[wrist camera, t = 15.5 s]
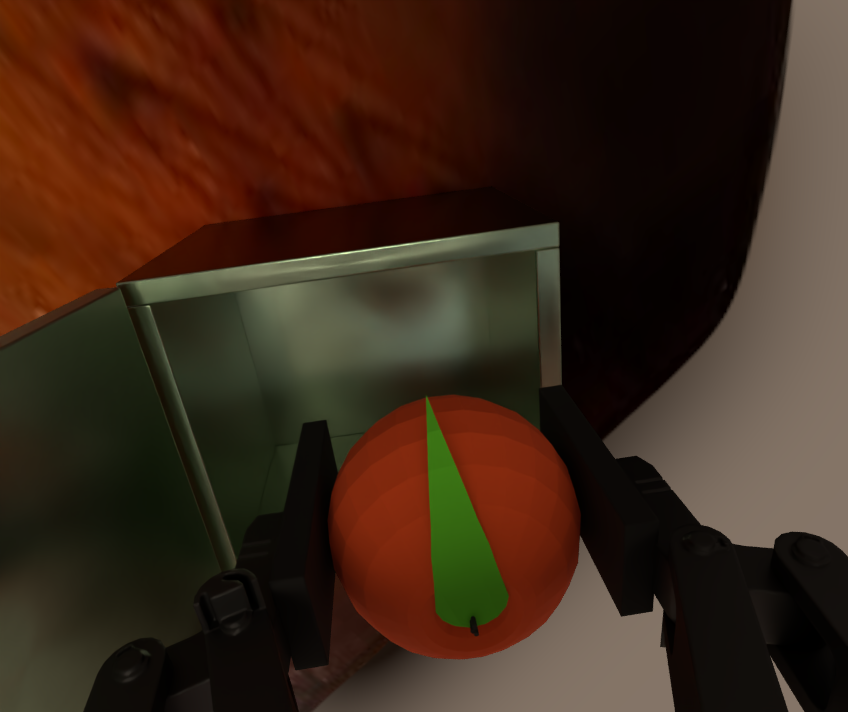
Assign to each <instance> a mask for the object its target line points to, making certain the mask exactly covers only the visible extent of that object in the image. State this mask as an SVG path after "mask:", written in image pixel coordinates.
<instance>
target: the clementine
mask: <svg viewBox="0 0 848 712" xmlns="http://www.w3.org/2000/svg"><path fill="white" fill-rule="evenodd" d="M327 522H328V533H329V543H330V549H331V555H332V560H333V566H334V570H335V572H336V574H337V576H338V578H339V579H340V581H341V583H342V585H343V587H344V589H345V591H346V593H347V595H348V596H349V598H350V600H351V602H352V604H353V605H354V607H355V609H356V611H357V612H358V613H359V614H360V615H361V616H362V617H363V618H364V619H365V620H366V621H367V622H368V623H370V624H371V625H372V626H373V627H374V628H375V629H376V630H377V631H379V632H380V633H381V634H382V635H384V636H385V637H386V638H388V639H389V640H390V641H391V642H393V643H395V644H397V645H399V646H401V647H403V648H405V649H406V650H408V651H410V652H413V653H417V654H421V655H424V656H429V657H432V658H444V659H469V658H476V657H483V656H487V655H489V654H493V653H496V652H499V651H502V650H504V649H507V648H508V647H510V646H512V645H514V644H516V643H518V642H520V641H521V640H523V639H525V638H527V637H529V636H530V635H531V634H532V633H533V632H534V631H536V630H537V629H538V628H539V627H540V626H542V625H543V624H544V623H545V622H546V621H547V620H548V618H549V617H550V615H551V614H552V613H553V612H554V610H555V609H556V608H557V606H558V605H559V603H560V602H561V600H562V598H563V596H564V594H565V592H566V590H567V589H568V587H569V585H570V582H571V579H572V577H573V574H574V571H575V569H576V566H577V564H578V555H579V540H580V524H581V512H580V508H579V505H578V501H577V497H576V494H575V490H574V487H573V484H572V481H571V478H570V475H569V472H568V469H567V466H566V465H565V463H564V462H563V460H562V459H561V457H560V456H559V455H558V453H557V452H556V450H555V449H554V447H553V446H552V444H551V443H550V442H549V441H548V440H547V439H546V437H545V436H544V435H543V434H542V433H541V432H540V431H539V429H537V428H536V427H535V426H533V425H532V424H531V423H530V422H528V421H527V420H526V419H524V418H523V417H522V416H521V415H519V414H518V413H517V412H514V411H512V410H509V409H507V408H504V407H502V406H499V405H497V404H494V403H492V402H490V401H487V400H484V399H481V398H475V397H468V396H460V395H444V396H434V397H427V395H426V398H423V399H420V400H417V401H414V402H411V403H408V404H406V405H403V406H400V407H399V408H397V409H395V410H394V411H392V412H391V413H389V414H388V415H386V416H385V417H383V418H381V419H380V420H378V421H377V422H376V423H375V424H374V425H373V426H372V427H371V428H370V429H369V430H368V431H367V432H366V433H365V434H364V435H363V436H362V437H361V438H360V439H359V440H358V442H357V443H356V444H355V445H354V446H353V447H352V448H351V449H350V451H349V453H348V455H347V457H346V459H345V461H344V463H343V465H342V467H341V469H340V471H339V473H338V475H337V478H336V481H335V484H334V487H333V490H332V494H331V500H330V506H329V513H328V519H327Z"/></svg>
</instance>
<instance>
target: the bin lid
mask: <svg viewBox="0 0 848 712" xmlns="http://www.w3.org/2000/svg"><path fill="white" fill-rule="evenodd" d="M220 572H221V569H220V566H219V563H218V561H217V558H216V555H215V552H214V549H213V547H212V544H211V541H210V538H209V536H208V533H207V530H206V527H205V524H204V522H203V519H202V516H201V513H200V510H199V508H198V505H197V502H196V499H195V496H194V494H193V491H192V488H191V485H190V482H189V480H188V477H187V474H186V471H185V469H184V466H183V463H182V460H181V457H180V455H179V452H178V449H177V446H176V443H175V441H174V438H173V435H172V432H171V429H170V427H169V424H168V421H167V418H166V416H165V413H164V410H163V407H162V404H161V402H160V399H159V396H158V393H157V390H156V388H155V385H154V382H153V379H152V376H151V374H150V371H149V368H148V365H147V362H146V360H145V357H144V354H143V351H142V349H141V346H140V343H139V340H138V337H137V335H136V332H135V329H134V326H133V323H132V321H131V318H130V315H129V312H128V309H127V307H126V304H125V301H124V298H123V295H122V293H121V290H120V288H117V287H115V288H105V289H96V290H94V291H92V292H90V293H88V294H86V295H84V296H82V297H80V298H78V299H76V300H74V301H71V302H69V303H67V304H65V305H63V306H61V307H59V308H57V309H55V310H53V311H51V312H49V313H47V314H45V315H43V316H41V317H39V318H37V319H35V320H33V321H31V322H29V323H27V324H25V325H23V326H21V327H19V328H16V329H14V330H12V331H10V332H8V333H6V334H4V335H2V336H0V712H83V711H84V708H85V705H86V703H87V700H88V697H89V695H90V692H91V689H92V687H93V684H94V681H95V679H96V676H97V674H98V672H99V670H100V668H101V667H102V665H103V663H104V662H105V661H106V660H107V659H108V658H109V657H110V656H111V655H112V654H113V653H114V652H115V651H116V650H118V649H119V648H121V647H122V646H124V645H125V644H127V643H129V642H132V641H134V640H137V639H139V638H148V637H153V638H155V639H158V640H161V642H162V643H163V645H164V646H165V648H166V647H168V646H171V645H173V644H175V643H178V642H180V641H182V640H184V639H187V638H189V637H191V636H193V635H195V634H197V633H199V632H200V631H202V630H203V629H202V627H201V624H200V622H199V619H198V617H197V614H196V612H195V609H194V607H193V603H194V597H195V595H196V593H197V592H198V590H199V589H200V587H201V586H202V585H203V584H204V583H205V582H206V581H208V580H209V579H210V578H211V577H213V576H215V575H217V574H219V573H220Z"/></svg>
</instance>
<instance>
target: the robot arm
mask: <svg viewBox="0 0 848 712" xmlns="http://www.w3.org/2000/svg"><path fill="white" fill-rule="evenodd" d="M539 410H540V432H541V433H542V434H543V435H544V436H545V437H546V439H547V440H548V441H549V442H550V443H551V444H552V446H553V447H554V449H555V450H556V452H557V453H558V455H559V456H560V457H561V459H562V460H563V462H564V463H565V465H566V466H567V469H568V472H569V475H570V478H571V481H572V484H573V487H574V490H575V494H576V497H577V501H578V505H579V508H580V512H581V524H580V536H581V538H582V540H583V542H584V544H585V546H586V548H587V549H588V551H589V553H590V556H591V558H592V559H593V562H594V563H595V565H596V567H597V569H598V571H599V573H600V575H601V577H602V579H603V581H604V583H605V585H606V587H607V589H608V591H609V593H610V595H611V597H612V599H613V601H614V603H615V605H616V607H617V609H618V611H619V613H620V615H621V616H627V615H634V614H640V613H646V612H652V611H653V599H654V594H655V596H656V598H657V599H658V601H659V603H660V604H661V606H662V608H663V609H664V610H663V622H662V633H661V645H660V647H666V652H667V659H668V666H669V673H670V679H671V687H672V694H673V700H674V707H675V712H788V709H787V706H786V703H785V700H784V697H783V694H782V691H781V688H780V685H779V682H778V678H777V676H776V673H775V669H774V666H773V663H772V660H771V658H772V659H773V661H774V662H775V664H776V666H777V668H778V669H779V671H780V672H781V674H782V676H783V677H784V679H785V681H786V682H787V684H788V685H789V687H790V689H791V691H792V692H793V694H794V695H795V697H796V699H797V700H798V702H799V704H800V705H801V707H802V708H803V710H804V712H848V556H847V555H846V554H845V553H844V552H843V551H842V550H841V549H839V548H838V547H837V546H836V545H834V544H833V543H832V542H830V541H828V540H826V539H824V538H822V537H820V536H816V535H813V534H809V533H805V532H789V533H784V534H781V535H780V536H779V537H778V538H776V539H775V544H774V549H773V548H760V547H749V546H741V545H735V544H732V543H731V541H730V540H729V539H728V538H727V537H726V536H725V535H724V534H722V533H721V532H719V531H717V530H715V529H713V528H710V527H708V526H703V525H700V523H699V522H698V521H697V520H696V518H695V517H694V516H693V515H692V513H691V512H690V511H689V510H688V509H687V507H686V506H685V505H684V504H683V502H682V501H681V500H680V499H679V497H678V496H677V495H676V494H675V493H674V491H673V490H671V488H670V486H669V485H668V484H667V483H666V481H665V480H663V479H662V477H661V475H660V474H659V473H658V472H657V470H656V469H655V468H654V467H653V465H651V464H649V463H648V462H646V461H644V460H643V459H641V458H639V457H638V456H632V457H625V458H619V459H615V458H614V457H613V456H612V454H611V453H610V451H609V450H608V449H607V447H606V446H605V444H604V443H603V442H602V440H601V439H600V437H599V436H598V435H597V433H596V432H595V430H594V429H593V428H592V426H591V425H590V423H589V422H588V421H587V419H586V418H585V417H584V415H583V414H582V412H581V411H580V410H579V408H578V407H577V405H576V404H575V403H574V401H573V400H572V398H571V397H570V396H569V394H568V393H567V391H566V390H565V389H564V387H563V386H562V385H556V386H549V387H543V388H539ZM337 475H338V470H337V466H336V461H335V457H334V452H333V448H332V443H331V438H330V434H329V429H328V425H327V420H320V421H314V422H307V423H303V424H302V429H301V433H300V438H299V443H298V447H297V452H296V456H295V461H294V466H293V470H292V475H291V479H290V484H289V489H288V493H287V498H286V502H285V507H284V511H283V512H276V513H270V514H263V515H258V516H257V517H256V518H255V519H254V521H253V522H252V523H251V524H250V526H249V527H248V528H247V529H246V532H245V535H244V539H243V542H242V547H241V549H240V552H239V556H238V560H237V562H236V566H235V568H234V569H230V570H226V571H222V572H220V573H219V574H217V575H215V576H213V577H211V578H210V579H209V580H208V581H206V582H205V583H204V584H203V585H202V586H201V587H200V589H199V590H198V592H197V593H196V595H195V597H194V603H193V607H194V609H195V612H196V614H197V617H198V619H199V622H200V624H201V627H202V629H203V630H202V631H200V632H199V633H197V634H195V635H193V636H191V637H189V638H187V639H184V640H182V641H180V642H178V643H175V644H173V645H171V646H168V647H166V648H165V646H164V645H163V643H162V642H161V640H158V639H155V638H153V637H148V638H139V639H137V640H134V641H132V642H129V643H127V644H125V645H124V646H122V647H121V648H119V649H118V650H116V651H115V652H114V653H113V654H112V655H111V656H110V657H109V658H108V659H107V660H106V661H105V662H104V663H103V665H102V667H101V668H100V670H99V672H98V674H97V676H96V679H95V681H94V684H93V687H92V689H91V692H90V695H89V697H88V700H87V703H86V705H85V708H84V711H83V712H299V710H298V707H297V703H296V699H295V695H294V692H293V688H292V684H291V681H290V678H289V675H288V672H289V665H290V658H291V657H292V660H293V664H294V667H295V670H301V669H307V668H313V667H319V666H325V665H328V664H329V650H330V637H331V623H332V610H333V596H334V583H335V570H334V566H333V560H332V555H331V549H330V543H329V533H328V522H327V519H328V513H329V506H330V500H331V494H332V490H333V487H334V484H335V481H336V478H337ZM770 656H771V657H770Z"/></svg>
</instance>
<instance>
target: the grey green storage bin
mask: <svg viewBox="0 0 848 712" xmlns="http://www.w3.org/2000/svg"><path fill="white" fill-rule="evenodd" d="M558 246H559V222H558V221H556V220H554V219H552V218H550V217H548V216H546V215H545V214H543V213H541V212H539V211H537V210H535V209H533V208H531V207H530V206H528V205H526V204H524V203H522V202H520V201H518V200H516V199H515V198H513V197H511V196H509V195H507V194H505V193H503V192H501V191H500V190H498V189H496V188H494V187H492V186H491V187H484V188H476V189H469V190H461V191H454V192H446V193H439V194H432V195H424V196H417V197H409V198H402V199H395V200H387V201H380V202H372V203H365V204H358V205H350V206H343V207H335V208H328V209H321V210H313V211H306V212H298V213H291V214H284V215H276V216H269V217H261V218H254V219H246V220H239V221H232V222H224V223H217V224H209V225H204V226H203V227H201V228H200V229H198V230H197V231H195V232H194V233H192V234H190V235H189V236H187V237H186V238H184V239H183V240H181V241H180V242H178V243H177V244H175V245H174V246H172V247H171V248H169V249H168V250H166V251H165V252H163V253H162V254H160V255H158V256H157V257H155V258H154V259H152V260H151V261H149V262H148V263H146V264H145V265H143V266H142V267H140V268H139V269H137V270H136V271H134V272H133V273H131V274H130V275H128V276H126V277H125V278H123V279H122V280H120V281H119V282H117V283H116V286H117V288H120V290H121V293H122V295H123V298H124V301H125V304H126V307H127V309H128V312H129V315H130V318H131V321H132V323H133V326H134V329H135V332H136V335H137V337H138V340H139V343H140V346H141V349H142V351H143V354H144V357H145V360H146V362H147V365H148V368H149V371H150V374H151V376H152V379H153V382H154V385H155V388H156V390H157V393H158V396H159V399H160V402H161V404H162V407H163V410H164V413H165V416H166V418H167V421H168V424H169V427H170V429H171V432H172V435H173V438H174V441H175V443H176V446H177V449H178V452H179V455H180V457H181V460H182V463H183V466H184V469H185V471H186V474H187V477H188V480H189V482H190V485H191V488H192V491H193V494H194V496H195V499H196V502H197V505H198V508H199V510H200V513H201V516H202V519H203V522H204V524H205V527H206V530H207V533H208V536H209V538H210V541H211V544H212V547H213V549H214V552H215V555H216V558H217V561H218V563H219V566H220V569H221V572H222V571H226V570H230V569H234V568H235V566H236V562H237V560H238V556H239V552H240V549H241V547H242V542H243V539H244V535H245V532H246V529H247V528H248V527H249V526H250V524H251V523H252V522H253V521H254V519H255V518H256V517H257V516H258V515H263V514H270V513H276V512H283V511H284V507H285V502H286V498H287V493H288V489H289V484H290V479H291V475H292V470H293V466H294V461H295V456H296V452H297V447H298V443H299V438H300V433H301V429H302V424H303V423H307V422H314V421H320V420H327V425H328V429H329V434H330V438H331V443H332V448H333V452H334V457H335V461H336V466H337V470H338V473H339V471H340V469H341V467H342V465H343V463H344V461H345V459H346V457H347V455H348V453H349V451H350V449H351V448H352V447H353V446H354V445H355V444H356V443H357V442H358V440H359V439H360V438H361V437H362V436H363V435H364V434H365V433H366V432H367V431H368V430H369V429H370V428H371V427H372V426H373V425H374V424H375V423H376V422H377V421H378V420H380V419H381V418H383V417H385V416H386V415H388V414H389V413H391V412H392V411H394V410H395V409H397V408H399V407H400V406H403V405H406V404H408V403H411V402H414V401H417V400H420V399H423V398H426V395H427V397H434V396H444V395H460V396H468V397H475V398H481V399H484V400H487V401H490V402H492V403H494V404H497V405H499V406H502V407H504V408H507V409H509V410H512V411H514V412H517V413H518V414H519V415H521V416H522V417H523V418H524V419H526V420H527V421H528V422H530V423H531V424H532V425H533V426H535V427H536V428H537V429H539V431H540V410H539V388H543V387H549V386H556V385H562V376H561V313H560V250H559V247H558ZM335 573H336V572H335Z"/></svg>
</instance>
